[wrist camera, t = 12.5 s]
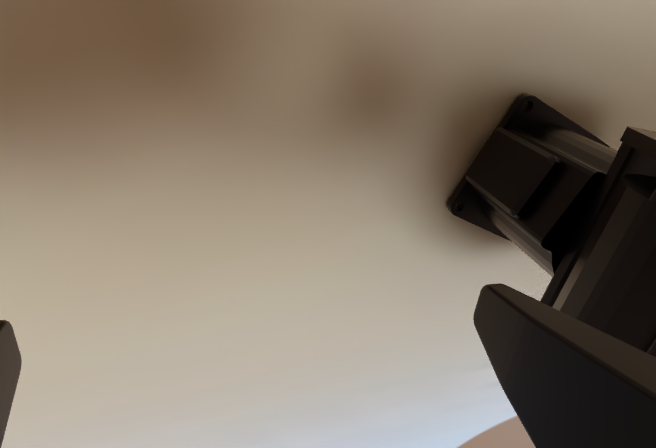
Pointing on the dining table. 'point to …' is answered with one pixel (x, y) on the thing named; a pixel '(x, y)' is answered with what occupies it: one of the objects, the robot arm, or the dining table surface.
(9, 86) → the dining table surface
